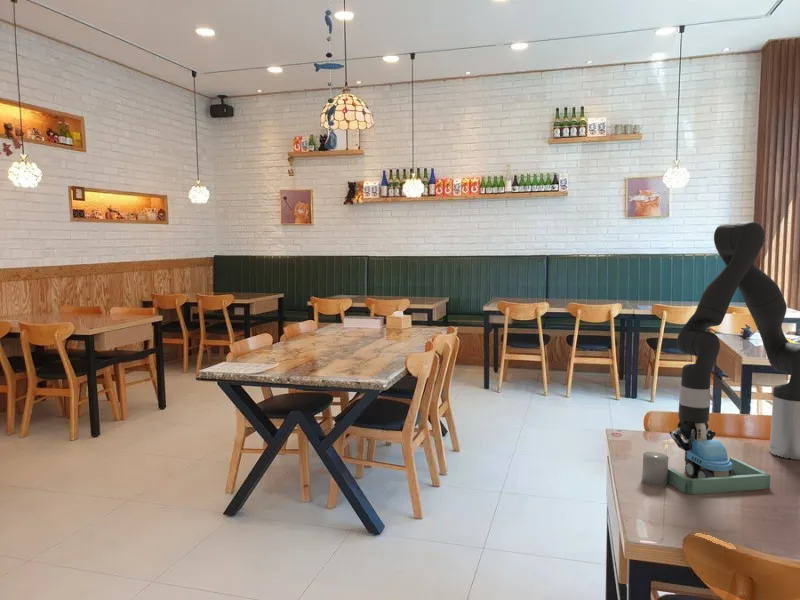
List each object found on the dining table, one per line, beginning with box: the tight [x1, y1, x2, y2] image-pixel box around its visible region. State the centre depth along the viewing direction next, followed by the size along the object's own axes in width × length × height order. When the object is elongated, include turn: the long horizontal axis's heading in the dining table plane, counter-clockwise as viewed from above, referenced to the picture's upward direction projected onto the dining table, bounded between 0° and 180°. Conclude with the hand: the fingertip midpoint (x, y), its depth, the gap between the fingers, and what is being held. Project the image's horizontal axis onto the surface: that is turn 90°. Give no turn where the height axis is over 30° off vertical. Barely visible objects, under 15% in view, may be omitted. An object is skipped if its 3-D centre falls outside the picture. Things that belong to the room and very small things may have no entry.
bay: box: [667, 457, 771, 496], centre depth 154 cm, size 23×13×4 cm, turn 101°
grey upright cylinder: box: [641, 451, 669, 488], centre depth 153 cm, size 6×6×7 cm
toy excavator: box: [684, 423, 737, 478], centre depth 158 cm, size 9×17×17 cm, turn 7°
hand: (690, 464), depth 162 cm, fingers closed
